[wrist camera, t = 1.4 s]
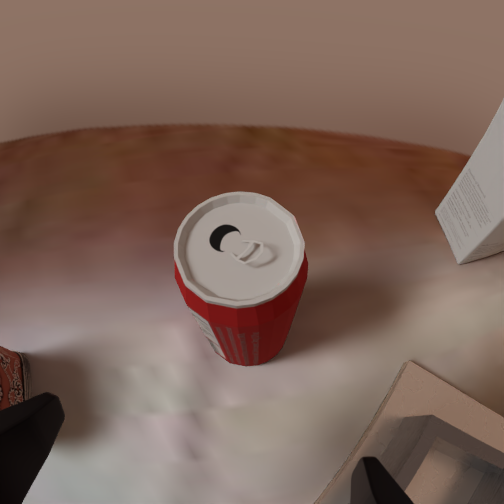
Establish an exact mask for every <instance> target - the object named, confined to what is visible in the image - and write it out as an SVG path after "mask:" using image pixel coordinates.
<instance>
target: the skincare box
mask: <svg viewBox="0 0 504 504" xmlns="http://www.w3.org/2000/svg"><path fill="white" fill-rule="evenodd" d="M435 213H436V216H437V218H438V220H439V223H440V225H441V227H442V229H443V231H444V233H445V235H446V237H447V240H448V242H449V244H450V247H451V249H452V251H453V253H454V256H455V258H456V260H457V262H458V264H463V263H467V262H470V261H474V260H477V259H481V258H484V257H487V256H490V255H493V254H496V253H499V252H501V251H504V99H503V101H502V103H501V105H500V107H499V109H498V111H497V113H496V115H495V116H494V118H493V120H492V122H491V124H490V126H489V128H488V130H487V131H486V133H485V135H484V136H483V138H482V140H481V141H480V143H479V144H478V146H477V148H476V149H475V151H474V153H473V154H472V156H471V158H470V159H469V161H468V162H467V164H466V166H465V167H464V169H463V170H462V172H461V173H460V175H459V177H458V178H457V180H456V181H455V183H454V184H453V186H452V187H451V189H450V190H449V192H448V193H447V195H446V196H445V198H444V199H443V201H442V202H441V204H440V205H439V207H438V208H437V209H436V211H435Z"/></svg>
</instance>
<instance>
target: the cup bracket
mask: <svg viewBox="0 0 504 504" xmlns="http://www.w3.org/2000/svg"><path fill="white" fill-rule="evenodd" d="M363 456H375V457H376V458H378V460H379V461H380V462H381V463H382V465H383V466H384V467H385V468H386V470H387V471H388V472H389V473H390V474H391V476H392V477H393V478H394V479H395V481H396V482H397V483H398V484H399V486H400V487H401V488H402V489H403V490H404V492H405V493H406V494H407V495H408V496H409V498H410V499H411V500H412V501H413V503H414V504H504V417H502V416H501V415H499V414H497V413H496V412H494V411H492V410H491V409H489V408H487V407H486V406H484V405H482V404H481V403H479V402H477V401H476V400H474V399H472V398H471V397H469V396H467V395H466V394H464V393H462V392H461V391H459V390H457V389H456V388H454V387H452V386H451V385H449V384H448V383H446V382H444V381H443V380H441V379H439V378H438V377H436V376H434V375H433V374H431V373H429V372H428V371H426V370H425V369H423V368H421V367H420V366H418V365H416V364H415V363H413V362H411V361H410V360H409V361H407V362H404V363H403V365H402V367H401V369H400V371H399V373H398V375H397V377H396V379H395V381H394V383H393V385H392V386H391V388H390V390H389V392H388V394H387V396H386V397H385V399H384V401H383V403H382V404H381V406H380V408H379V410H378V411H377V413H376V415H375V416H374V418H373V420H372V421H371V423H370V425H369V426H368V428H367V430H366V431H365V433H364V434H363V436H362V438H361V439H360V441H359V442H358V444H357V445H356V447H355V448H354V450H353V451H352V453H351V454H350V456H349V457H348V459H347V460H346V462H345V463H344V464H343V466H342V467H341V469H340V470H339V471H338V473H337V474H336V476H335V477H334V478H333V480H332V481H331V482H330V484H329V485H328V486H327V488H326V489H325V490H324V492H323V493H322V494H321V495H320V497H319V498H318V499H317V500H316V502H315V503H314V504H350V496H351V476H352V473H353V471H354V469H355V467H356V465H357V463H358V461H359V460H360V458H361V457H363Z"/></svg>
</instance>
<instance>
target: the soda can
mask: <svg viewBox="0 0 504 504" xmlns="http://www.w3.org/2000/svg"><path fill="white" fill-rule="evenodd" d="M304 245H305V242H304V240H303V237H302V234H301V232H300V229H299V226H298V224H297V221H296V219H295V216H293V215H292V214H291V213H290V212H288V211H287V210H286V209H284V208H283V207H282V206H281V205H279V204H278V203H277V202H275V201H274V200H273V199H272V198H269V197H266V196H263V195H260V194H257V193H250V192H232V193H225V194H221V195H218V196H215V197H212V198H210V199H208V200H206V201H205V202H203V203H201V204H199V205H198V206H196V207H195V208H194V209H193V210H192V211H191V212H190V213H189V214H188V215H187V216H186V217H185V219H184V221H183V222H182V224H181V225H180V227H179V228H178V231H177V235H176V238H175V241H174V259H175V279H176V281H177V284H178V286H179V288H180V291H181V293H182V295H183V297H184V300H185V302H186V304H187V306H188V308H189V309H190V311H191V313H192V314H193V316H194V318H195V319H196V321H197V323H198V324H199V326H200V328H201V329H202V331H203V333H204V334H205V336H206V338H207V339H208V341H209V343H210V344H211V346H212V347H213V349H214V351H215V352H216V353H217V354H218V355H220V356H221V357H222V358H224V359H225V360H227V361H228V362H229V363H232V364H237V365H242V366H254V365H260V364H262V363H265V362H267V361H269V360H270V359H271V358H273V357H274V356H275V355H277V354H278V352H279V351H280V350H281V348H282V347H283V345H284V342H285V340H286V338H287V335H288V332H289V329H290V326H291V324H292V321H293V318H294V315H295V312H296V309H297V306H298V303H299V300H300V297H301V295H302V292H303V289H304V286H305V283H306V280H307V272H308V261H307V257H306V253H305V249H304Z"/></svg>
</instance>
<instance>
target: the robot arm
mask: <svg viewBox="0 0 504 504" xmlns="http://www.w3.org/2000/svg"><path fill="white" fill-rule="evenodd" d="M64 417H65V415H64V411H63V408H62V405H61V402H60V400H59V398H58V396H56V395H54V394H52V393H49V392H45V393H43V394H40V395H38V396H35V397H33V398H30V399H28V400H25V401H23V402H20V403H18V404H15V405H13V406H10V407H7V408H5V409H2V410H0V504H22V502H23V500H24V498H25V496H26V495H27V493H28V491H29V489H30V487H31V485H32V484H33V482H34V480H35V478H36V476H37V475H38V473H39V471H40V469H41V468H42V466H43V464H44V462H45V461H46V459H47V457H48V455H49V453H50V451H51V448H52V446H53V444H54V441H55V439H56V437H57V435H58V432H59V430H60V428H61V426H62V423H63V421H64ZM350 504H414V503H413V501H412V500H411V499H410V498H409V496H408V495H407V494H406V493H405V492H404V490H403V489H402V488H401V487H400V486H399V484H398V483H397V482H396V481H395V479H394V478H393V477H392V476H391V474H390V473H389V472H388V471H387V470H386V468H385V467H384V466H383V465H382V463H381V462H380V461H379V460H378V458H376V457H375V456H363V457H361V458H360V460H359V461H358V463H357V465H356V467H355V469H354V471H353V473H352V476H351V496H350Z"/></svg>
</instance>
